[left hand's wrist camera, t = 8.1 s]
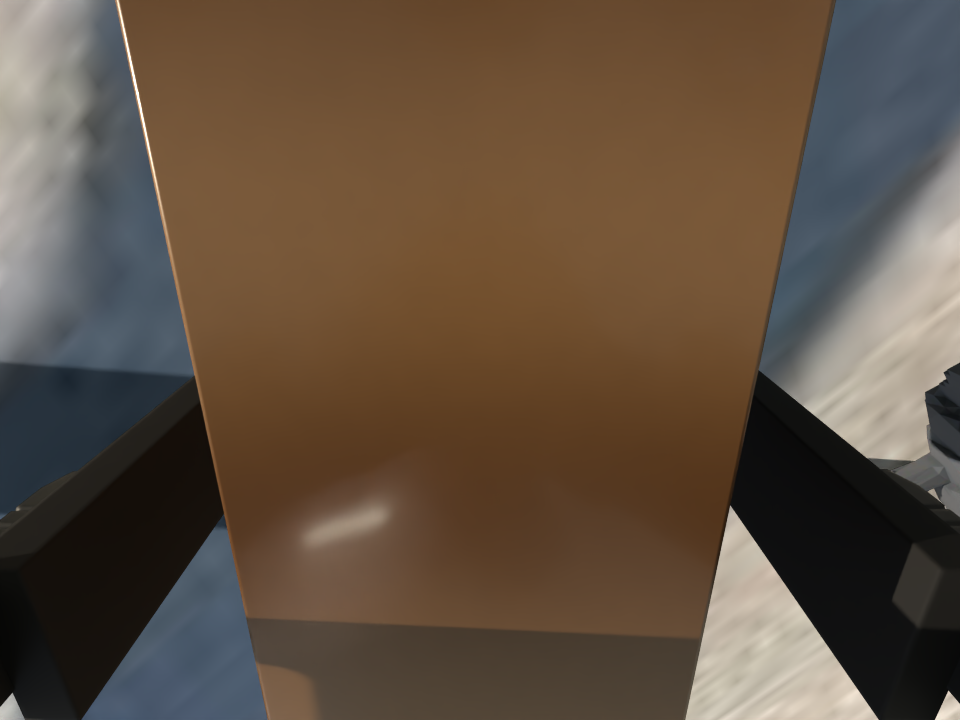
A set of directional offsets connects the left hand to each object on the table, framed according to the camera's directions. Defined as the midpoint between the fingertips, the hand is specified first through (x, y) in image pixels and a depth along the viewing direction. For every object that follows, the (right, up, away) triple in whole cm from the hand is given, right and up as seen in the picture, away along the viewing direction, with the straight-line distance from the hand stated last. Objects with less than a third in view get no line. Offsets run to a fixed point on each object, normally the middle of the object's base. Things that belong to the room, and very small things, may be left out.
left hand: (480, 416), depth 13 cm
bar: (0, +7, -1) cm, 7 cm away
